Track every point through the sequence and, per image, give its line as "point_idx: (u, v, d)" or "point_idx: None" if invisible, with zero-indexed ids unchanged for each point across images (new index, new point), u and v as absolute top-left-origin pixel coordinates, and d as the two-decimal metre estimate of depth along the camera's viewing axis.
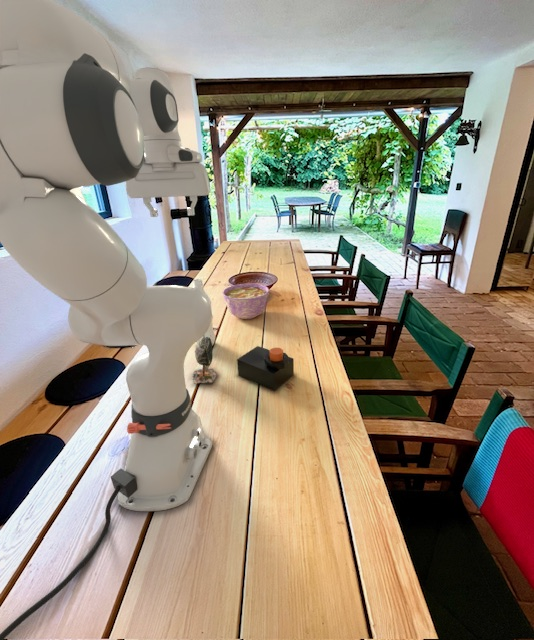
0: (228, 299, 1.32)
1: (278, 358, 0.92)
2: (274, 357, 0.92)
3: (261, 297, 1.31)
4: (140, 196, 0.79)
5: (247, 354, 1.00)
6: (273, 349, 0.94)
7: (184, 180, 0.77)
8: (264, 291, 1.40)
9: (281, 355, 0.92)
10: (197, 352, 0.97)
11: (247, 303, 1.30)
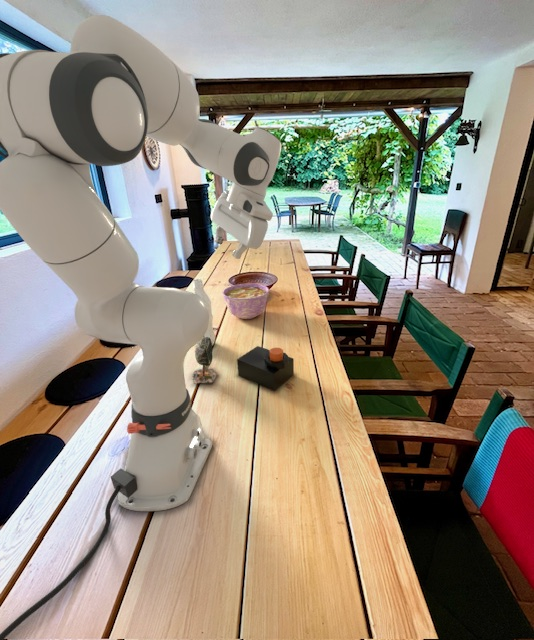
0: (228, 299, 1.32)
1: (278, 358, 0.92)
2: (274, 357, 0.92)
3: (261, 297, 1.31)
4: (215, 222, 0.89)
5: (247, 354, 1.00)
6: (273, 349, 0.94)
7: (241, 226, 0.81)
8: (264, 291, 1.40)
9: (281, 355, 0.92)
10: (197, 352, 0.97)
11: (247, 303, 1.30)
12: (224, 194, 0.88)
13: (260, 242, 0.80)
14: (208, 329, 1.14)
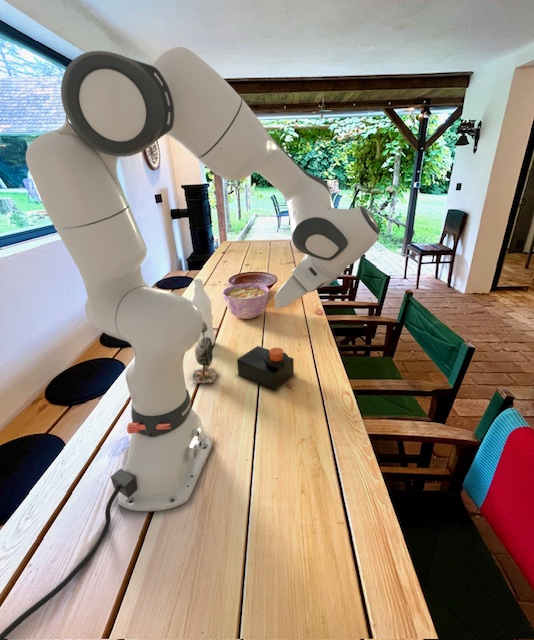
0: (228, 299, 1.32)
1: (278, 358, 0.92)
2: (274, 357, 0.92)
3: (261, 297, 1.31)
4: None
5: (247, 354, 1.00)
6: (273, 349, 0.94)
7: None
8: (264, 291, 1.40)
9: (281, 355, 0.92)
10: (197, 352, 0.97)
11: (247, 303, 1.30)
12: None
13: (285, 303, 0.73)
14: (208, 329, 1.14)
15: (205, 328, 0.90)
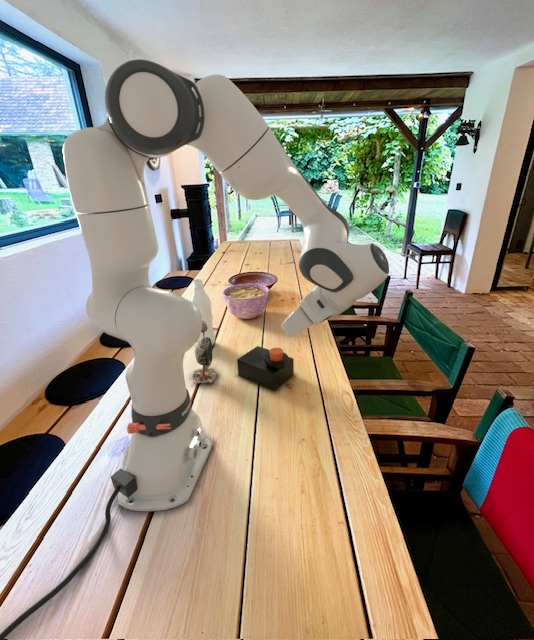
0: (228, 299, 1.32)
1: (278, 358, 0.92)
2: (274, 357, 0.92)
3: (261, 297, 1.31)
4: None
5: (247, 354, 1.00)
6: (273, 349, 0.94)
7: None
8: (264, 291, 1.40)
9: (281, 355, 0.92)
10: (197, 352, 0.97)
11: (247, 303, 1.30)
12: None
13: (291, 332, 0.74)
14: (208, 329, 1.14)
15: (205, 328, 0.90)
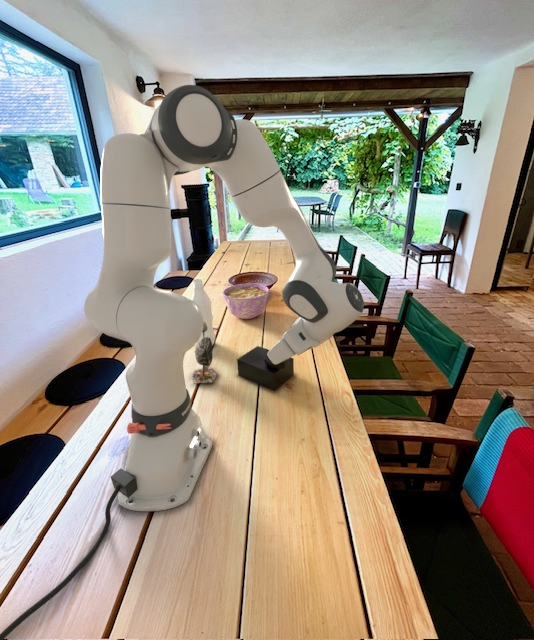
0: (228, 299, 1.32)
1: None
2: None
3: (261, 297, 1.31)
4: None
5: (247, 354, 1.00)
6: None
7: None
8: (264, 291, 1.40)
9: None
10: (197, 352, 0.97)
11: (247, 303, 1.30)
12: None
13: (276, 361, 0.80)
14: (208, 329, 1.14)
15: (205, 328, 0.90)
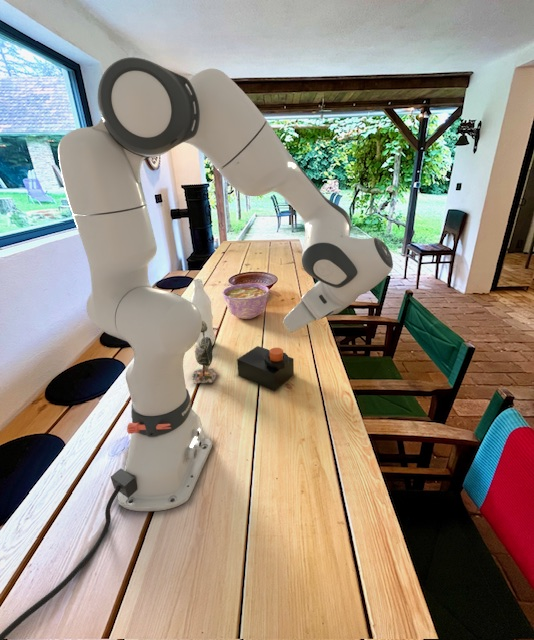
0: (228, 299, 1.32)
1: (278, 358, 0.92)
2: (274, 357, 0.92)
3: (261, 297, 1.31)
4: None
5: (247, 354, 1.00)
6: (273, 349, 0.94)
7: None
8: (264, 291, 1.40)
9: (281, 355, 0.92)
10: (197, 352, 0.97)
11: (247, 303, 1.30)
12: None
13: (293, 328, 0.72)
14: (208, 329, 1.14)
15: (205, 328, 0.90)
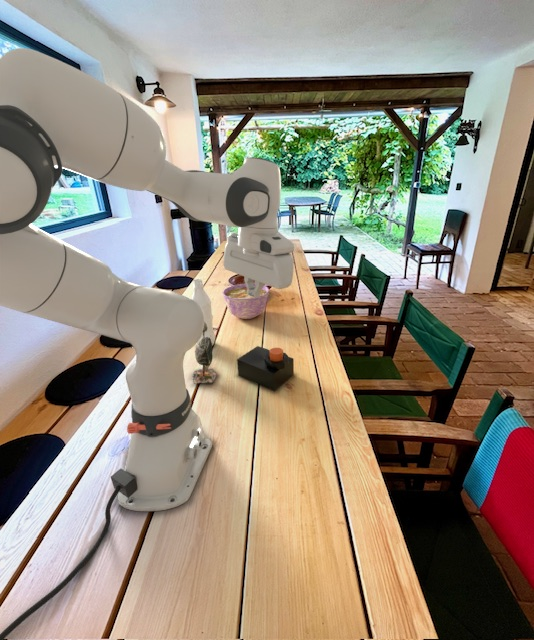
0: (228, 299, 1.32)
1: (278, 358, 0.92)
2: (274, 357, 0.92)
3: (261, 297, 1.31)
4: (231, 270, 0.79)
5: (247, 354, 1.00)
6: (273, 349, 0.94)
7: (264, 268, 0.71)
8: (264, 291, 1.40)
9: (281, 355, 0.92)
10: (197, 352, 0.97)
11: (247, 303, 1.30)
12: (230, 238, 0.78)
13: (290, 279, 0.70)
14: (208, 329, 1.14)
15: (205, 328, 0.90)
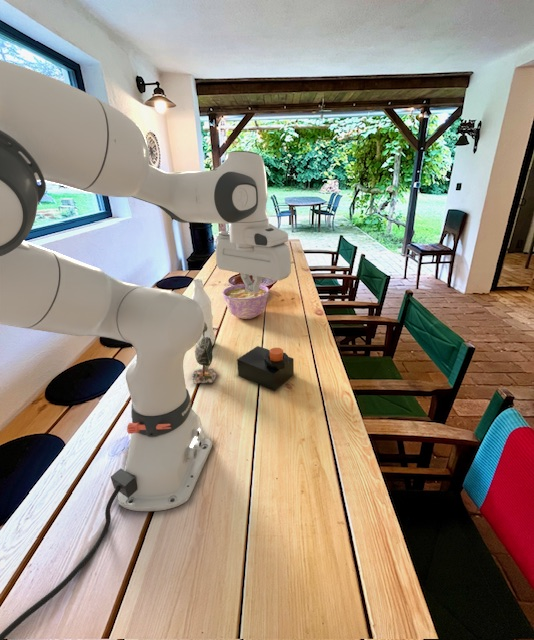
0: (228, 299, 1.32)
1: (278, 358, 0.92)
2: (274, 357, 0.92)
3: (261, 297, 1.31)
4: (225, 269, 0.78)
5: (247, 354, 1.00)
6: (273, 349, 0.94)
7: (261, 262, 0.70)
8: (264, 291, 1.40)
9: (281, 355, 0.92)
10: (197, 352, 0.97)
11: (247, 303, 1.30)
12: (220, 236, 0.77)
13: (289, 268, 0.70)
14: (208, 329, 1.14)
15: (205, 328, 0.90)
